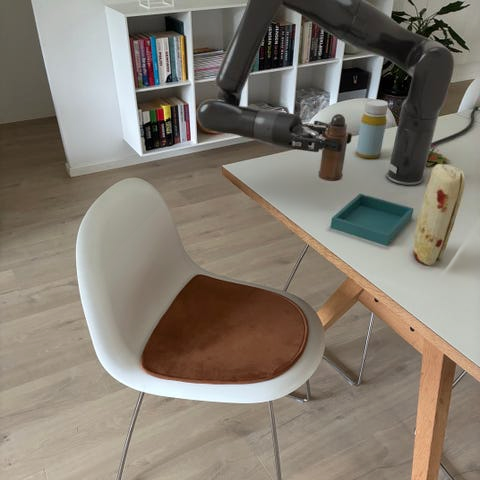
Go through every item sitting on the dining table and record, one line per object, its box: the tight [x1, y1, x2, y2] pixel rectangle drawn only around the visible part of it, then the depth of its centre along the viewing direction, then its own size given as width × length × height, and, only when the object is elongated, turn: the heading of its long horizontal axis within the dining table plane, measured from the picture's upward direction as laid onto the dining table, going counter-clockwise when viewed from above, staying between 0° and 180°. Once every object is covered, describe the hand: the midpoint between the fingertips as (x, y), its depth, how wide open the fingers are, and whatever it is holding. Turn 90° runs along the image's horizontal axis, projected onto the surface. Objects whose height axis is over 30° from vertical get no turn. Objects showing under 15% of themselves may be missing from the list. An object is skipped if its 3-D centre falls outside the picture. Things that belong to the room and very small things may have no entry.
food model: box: [412, 163, 466, 267], centre depth 104 cm, size 10×7×20 cm
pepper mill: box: [317, 113, 349, 182], centre depth 117 cm, size 6×6×14 cm
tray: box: [330, 193, 415, 247], centre depth 121 cm, size 16×14×3 cm
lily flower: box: [426, 145, 452, 167], centre depth 152 cm, size 12×12×5 cm
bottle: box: [355, 98, 389, 160], centre depth 151 cm, size 7×7×15 cm
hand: (346, 142), depth 116 cm, fingers closed on pepper mill, 5 cm apart
